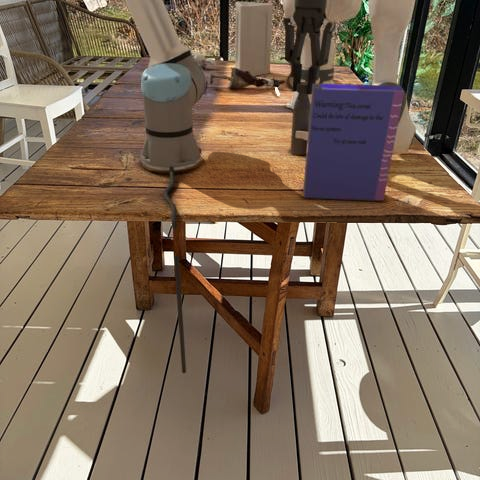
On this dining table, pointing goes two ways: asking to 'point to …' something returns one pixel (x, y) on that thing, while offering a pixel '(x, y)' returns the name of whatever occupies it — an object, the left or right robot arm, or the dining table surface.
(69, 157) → the dining table surface
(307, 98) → the bottle
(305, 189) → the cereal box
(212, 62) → the toy
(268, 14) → the paper bag
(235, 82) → the figurine
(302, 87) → the cap
